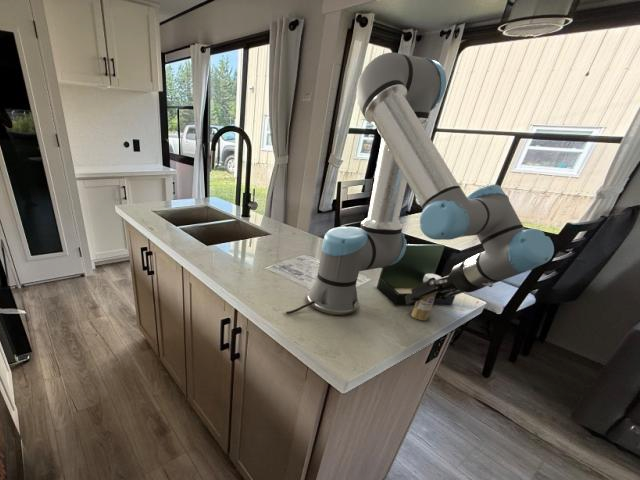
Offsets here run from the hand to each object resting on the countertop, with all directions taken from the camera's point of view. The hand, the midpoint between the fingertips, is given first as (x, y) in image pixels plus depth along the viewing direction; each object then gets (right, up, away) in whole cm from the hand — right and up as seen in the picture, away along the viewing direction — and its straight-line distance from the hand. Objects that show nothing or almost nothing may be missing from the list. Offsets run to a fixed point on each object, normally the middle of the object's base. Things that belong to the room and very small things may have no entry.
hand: (415, 300), depth 99 cm
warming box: (+5, +1, +11) cm, 12 cm away
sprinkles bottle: (0, -5, -2) cm, 5 cm away
